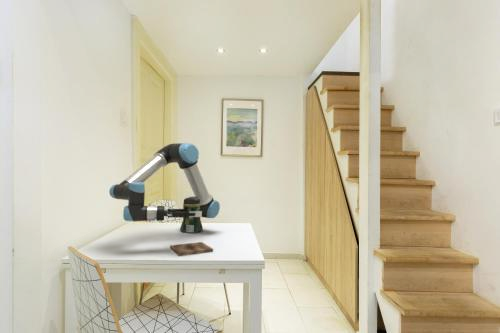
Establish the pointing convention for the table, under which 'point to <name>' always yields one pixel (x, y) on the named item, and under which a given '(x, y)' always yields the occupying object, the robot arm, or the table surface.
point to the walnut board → (191, 248)
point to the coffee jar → (192, 222)
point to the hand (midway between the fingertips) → (200, 212)
